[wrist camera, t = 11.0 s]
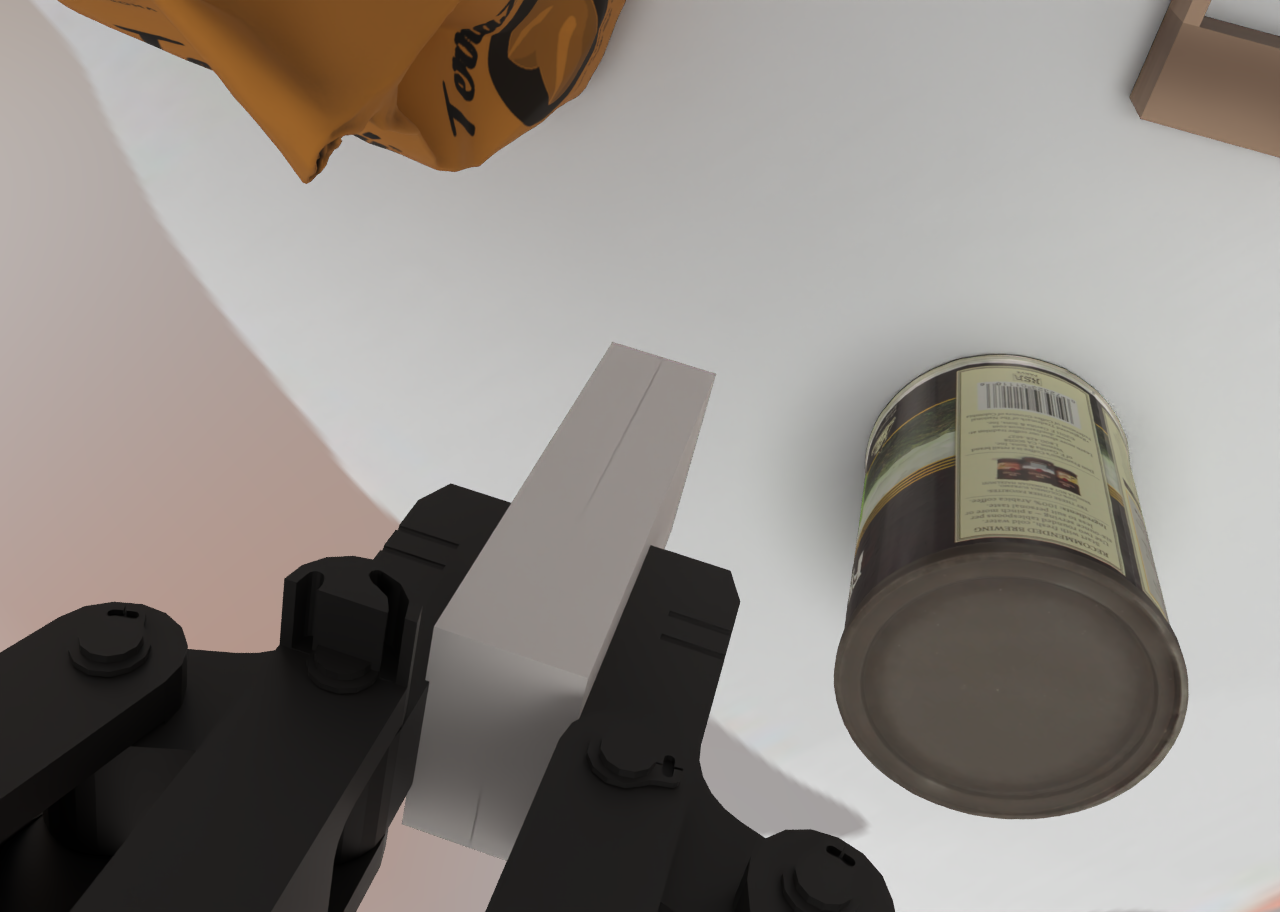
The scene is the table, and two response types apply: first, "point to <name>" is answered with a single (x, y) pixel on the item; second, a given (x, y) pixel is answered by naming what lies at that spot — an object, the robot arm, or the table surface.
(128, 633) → the robot arm
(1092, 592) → the coffee can
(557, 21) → the coffee package
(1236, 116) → the trap deck
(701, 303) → the table surface
